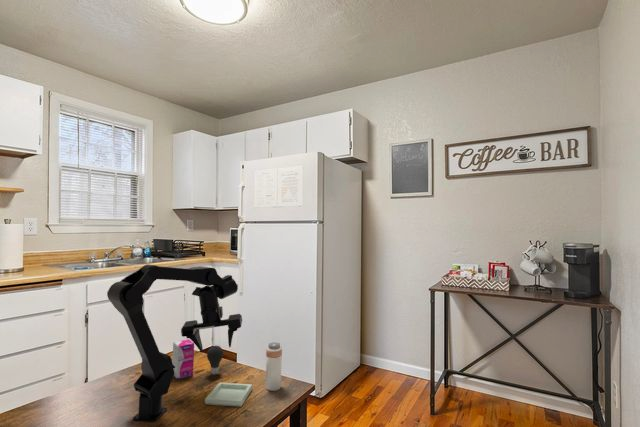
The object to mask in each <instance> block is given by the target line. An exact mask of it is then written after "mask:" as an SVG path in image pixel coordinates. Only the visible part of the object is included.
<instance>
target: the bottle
mask: <svg viewBox="0 0 640 427" xmlns="http://www.w3.org/2000/svg"><path fill="white" fill-rule="evenodd" d="M265 356H266V357H265V358H266V362H265V364H266V365H265V389H266V390H267V391H272V392H275V391H278V390H280V389H281V388H282V356H283V348H282V346H281V343H279V342H276V341H275V342H274V341H273V342H269V343H268V345H267V346H266V348H265Z"/></svg>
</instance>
